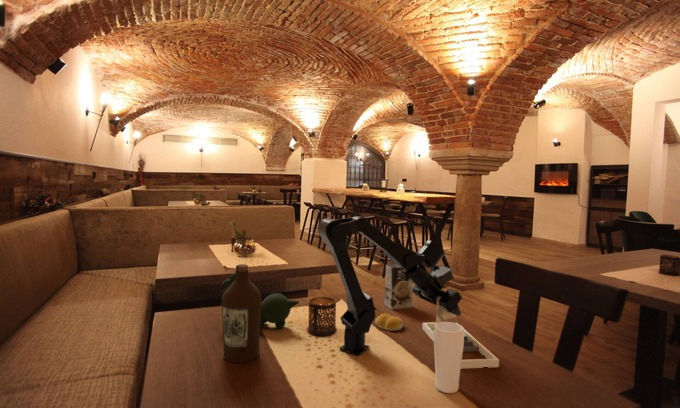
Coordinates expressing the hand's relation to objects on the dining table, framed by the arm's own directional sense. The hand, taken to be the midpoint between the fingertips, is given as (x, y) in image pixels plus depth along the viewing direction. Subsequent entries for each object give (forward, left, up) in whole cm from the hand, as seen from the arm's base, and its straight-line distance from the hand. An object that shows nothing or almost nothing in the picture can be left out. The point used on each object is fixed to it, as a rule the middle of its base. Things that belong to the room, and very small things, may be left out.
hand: (450, 310), depth 127 cm
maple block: (-1, +1, -8) cm, 8 cm away
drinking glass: (-33, -11, -8) cm, 35 cm away
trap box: (-7, -5, -8) cm, 12 cm away
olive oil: (-50, +41, -8) cm, 65 cm away
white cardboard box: (+15, +25, -8) cm, 31 cm away
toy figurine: (-32, +52, -8) cm, 62 cm away
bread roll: (-5, +19, -8) cm, 21 cm away
